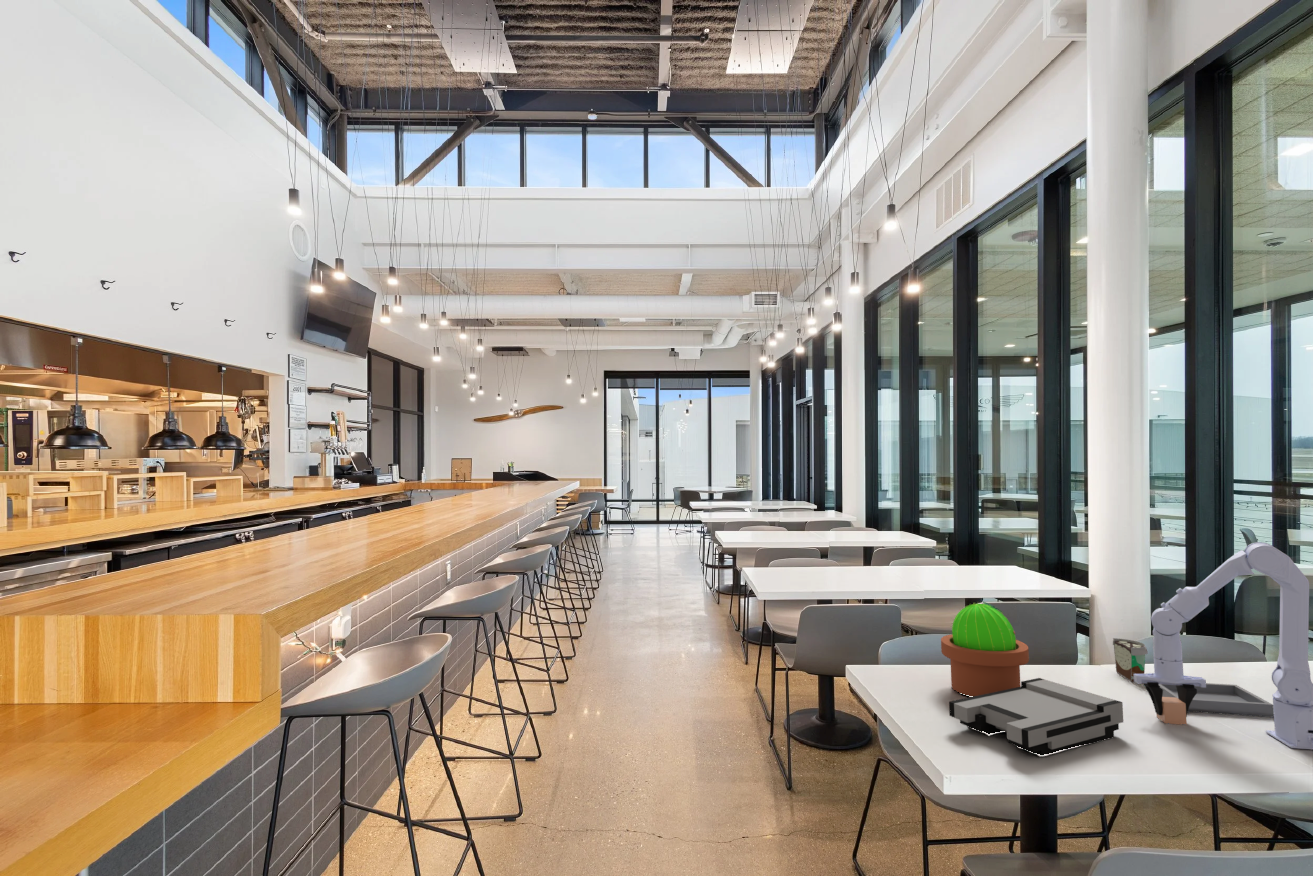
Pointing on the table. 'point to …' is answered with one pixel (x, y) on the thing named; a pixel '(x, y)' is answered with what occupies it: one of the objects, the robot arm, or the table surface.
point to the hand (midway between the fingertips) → (1171, 714)
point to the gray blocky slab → (1042, 715)
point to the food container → (1129, 657)
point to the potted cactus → (983, 651)
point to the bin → (1224, 700)
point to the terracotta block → (1173, 711)
